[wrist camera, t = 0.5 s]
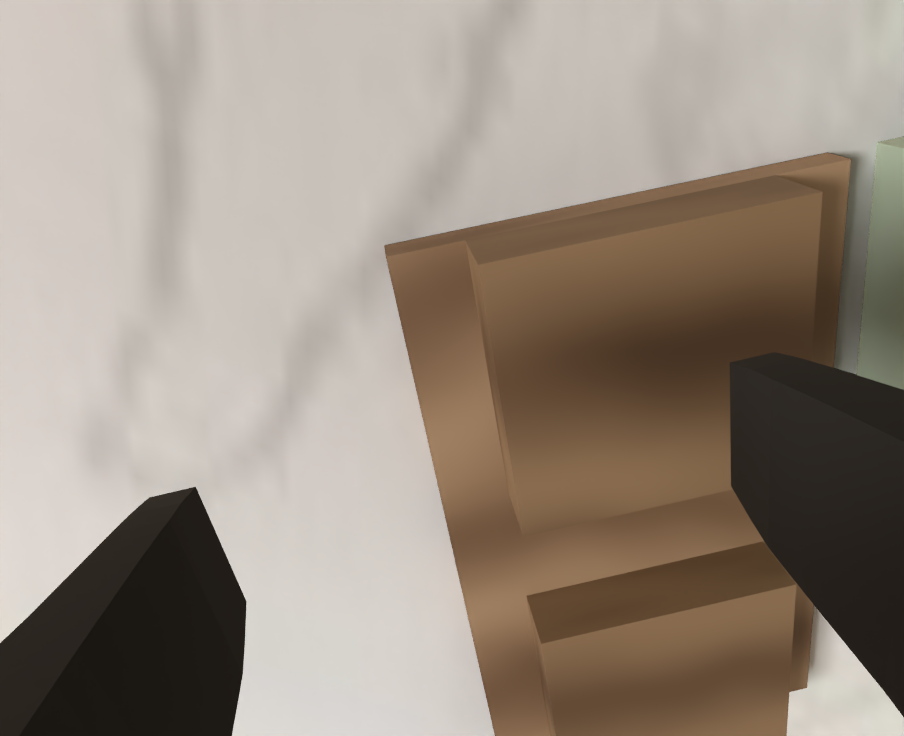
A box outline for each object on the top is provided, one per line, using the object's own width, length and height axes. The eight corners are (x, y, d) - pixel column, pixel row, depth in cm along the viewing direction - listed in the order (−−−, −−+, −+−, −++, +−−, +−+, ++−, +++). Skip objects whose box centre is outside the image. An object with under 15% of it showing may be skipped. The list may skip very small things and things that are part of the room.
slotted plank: (792, 666, 28) (839, 734, 25) (496, 736, 27) (511, 814, 25) (827, 152, 19) (906, 173, 16) (384, 245, 18) (390, 283, 16)
